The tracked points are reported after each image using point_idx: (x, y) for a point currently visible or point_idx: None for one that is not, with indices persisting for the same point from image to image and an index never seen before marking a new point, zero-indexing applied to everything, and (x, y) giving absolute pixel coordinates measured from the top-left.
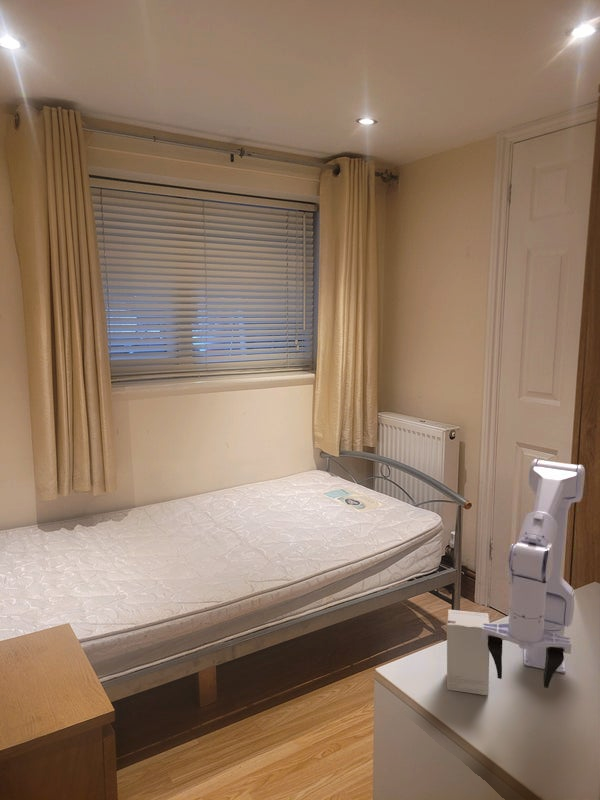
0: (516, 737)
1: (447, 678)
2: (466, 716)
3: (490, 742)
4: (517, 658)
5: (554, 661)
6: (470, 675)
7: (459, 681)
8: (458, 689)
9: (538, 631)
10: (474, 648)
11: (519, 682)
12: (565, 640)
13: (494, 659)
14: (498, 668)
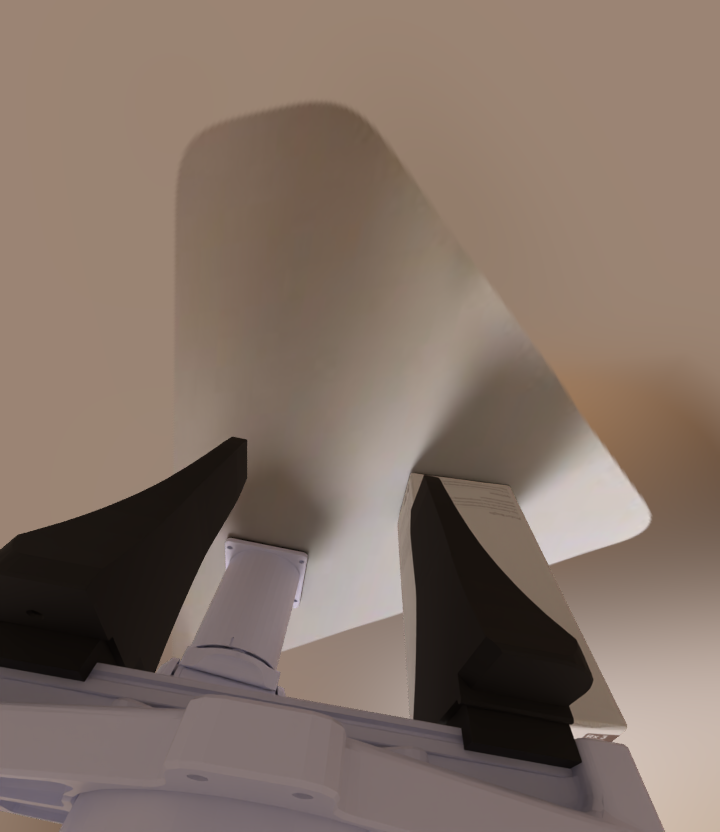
0: (369, 343)
1: (520, 510)
2: (489, 405)
3: (450, 315)
4: (318, 567)
5: (65, 550)
6: (465, 516)
7: (490, 502)
8: (484, 485)
9: None
10: None
11: (326, 512)
12: None
13: (492, 563)
14: (451, 514)
